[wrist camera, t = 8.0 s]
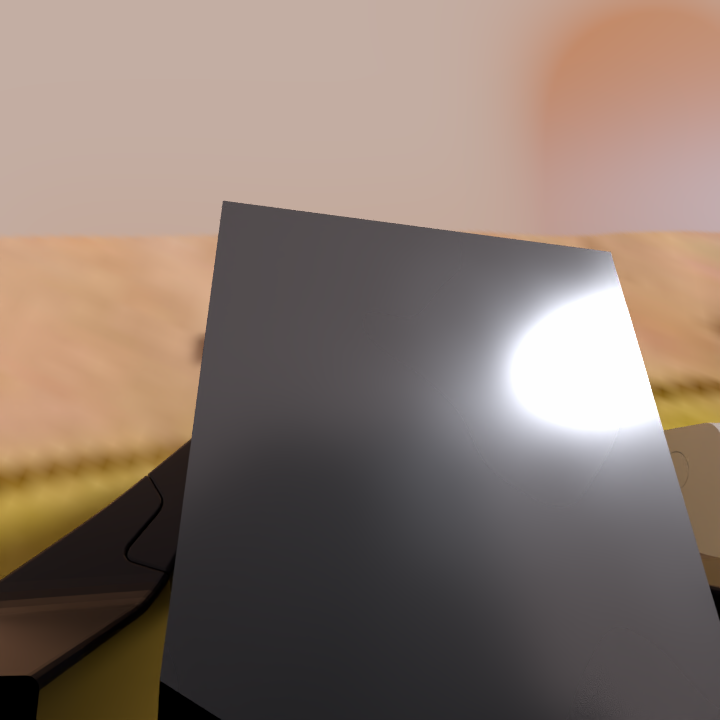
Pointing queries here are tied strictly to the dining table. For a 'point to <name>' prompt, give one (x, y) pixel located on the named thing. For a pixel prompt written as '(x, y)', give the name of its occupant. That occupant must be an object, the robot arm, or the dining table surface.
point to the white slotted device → (699, 479)
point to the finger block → (428, 489)
